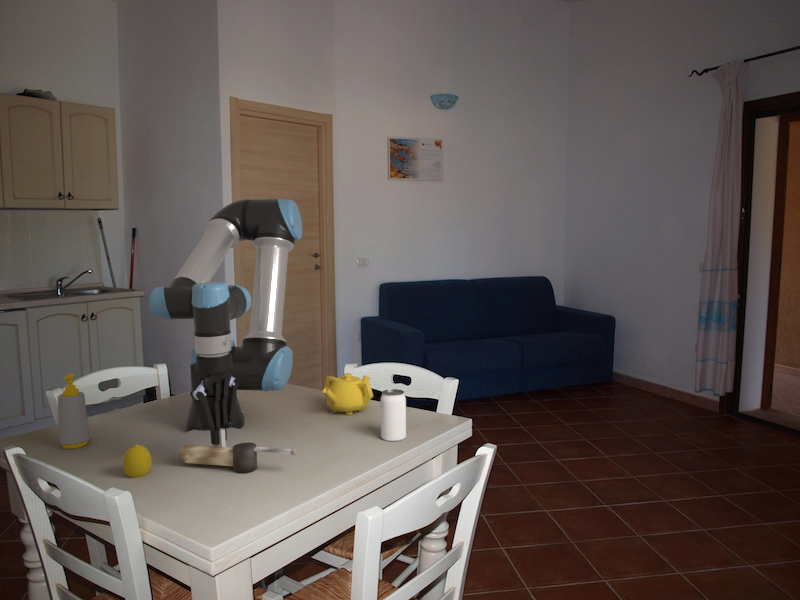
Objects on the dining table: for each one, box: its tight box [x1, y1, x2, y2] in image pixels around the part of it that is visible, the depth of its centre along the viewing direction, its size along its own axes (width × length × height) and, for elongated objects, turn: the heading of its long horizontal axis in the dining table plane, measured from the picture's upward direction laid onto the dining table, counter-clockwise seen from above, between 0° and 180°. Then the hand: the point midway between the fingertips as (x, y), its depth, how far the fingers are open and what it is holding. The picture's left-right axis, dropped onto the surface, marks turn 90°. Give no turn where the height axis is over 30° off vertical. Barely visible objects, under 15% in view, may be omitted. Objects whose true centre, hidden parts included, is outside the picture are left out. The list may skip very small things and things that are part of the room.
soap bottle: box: [57, 373, 91, 450], centre depth 147 cm, size 7×7×18 cm
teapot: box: [322, 372, 374, 417], centre depth 174 cm, size 20×18×11 cm
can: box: [380, 388, 407, 443], centre depth 150 cm, size 6×6×12 cm
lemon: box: [122, 443, 153, 479], centre depth 126 cm, size 6×6×8 cm
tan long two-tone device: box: [179, 442, 298, 474], centre depth 128 cm, size 27×5×5 cm, turn 79°
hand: (220, 456), depth 131 cm, fingers closed
